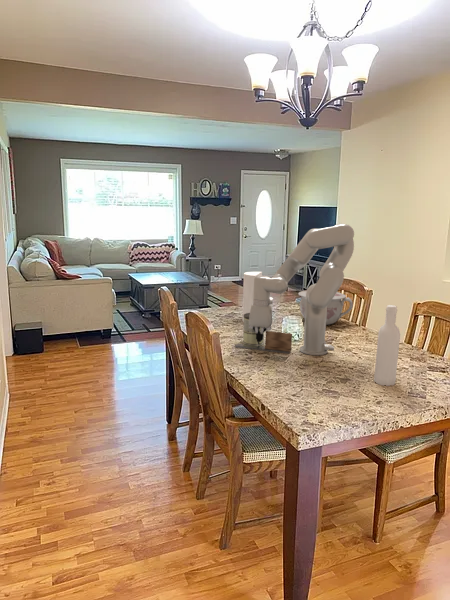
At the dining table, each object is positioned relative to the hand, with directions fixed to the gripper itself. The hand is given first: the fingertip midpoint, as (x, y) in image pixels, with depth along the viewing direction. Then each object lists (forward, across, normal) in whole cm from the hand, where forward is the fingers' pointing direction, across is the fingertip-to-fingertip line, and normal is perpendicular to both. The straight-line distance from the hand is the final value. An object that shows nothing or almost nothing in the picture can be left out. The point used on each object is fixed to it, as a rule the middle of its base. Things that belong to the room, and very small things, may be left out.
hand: (259, 341), depth 209 cm
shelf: (+4, -9, 0) cm, 10 cm away
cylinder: (+4, +14, -51) cm, 53 cm away
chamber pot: (+4, -20, -63) cm, 66 cm away
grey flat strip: (+4, -2, 0) cm, 4 cm away
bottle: (+4, -56, +22) cm, 60 cm away
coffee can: (+4, +5, -8) cm, 10 cm away
